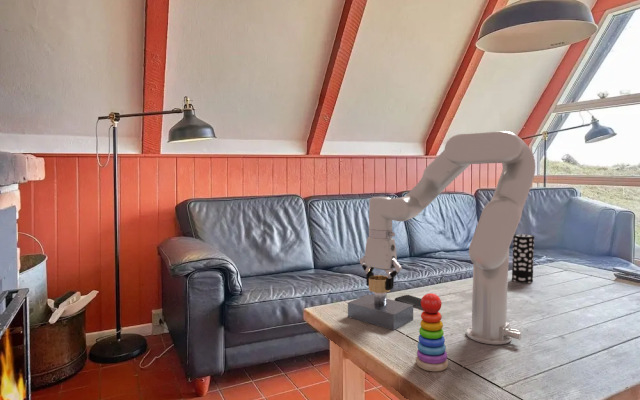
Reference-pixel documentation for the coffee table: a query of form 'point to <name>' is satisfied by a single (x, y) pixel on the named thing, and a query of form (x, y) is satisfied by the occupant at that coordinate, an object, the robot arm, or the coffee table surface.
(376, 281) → the bronze ring
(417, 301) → the phone
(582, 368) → the coffee table surface
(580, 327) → the coffee table surface
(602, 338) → the coffee table surface
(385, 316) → the grey peg board
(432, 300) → the stacking toy
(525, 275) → the spotted tube
